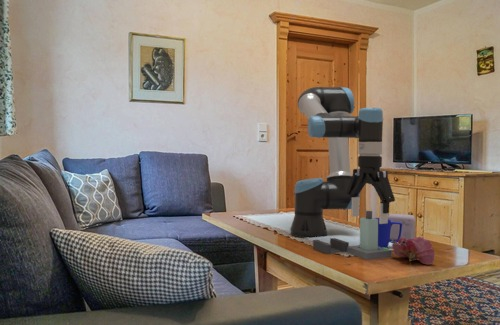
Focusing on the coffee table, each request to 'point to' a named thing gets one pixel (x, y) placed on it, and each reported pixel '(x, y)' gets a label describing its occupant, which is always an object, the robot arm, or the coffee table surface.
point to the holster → (331, 246)
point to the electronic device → (407, 226)
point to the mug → (386, 233)
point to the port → (369, 252)
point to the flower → (414, 249)
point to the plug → (369, 232)
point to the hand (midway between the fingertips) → (368, 219)
